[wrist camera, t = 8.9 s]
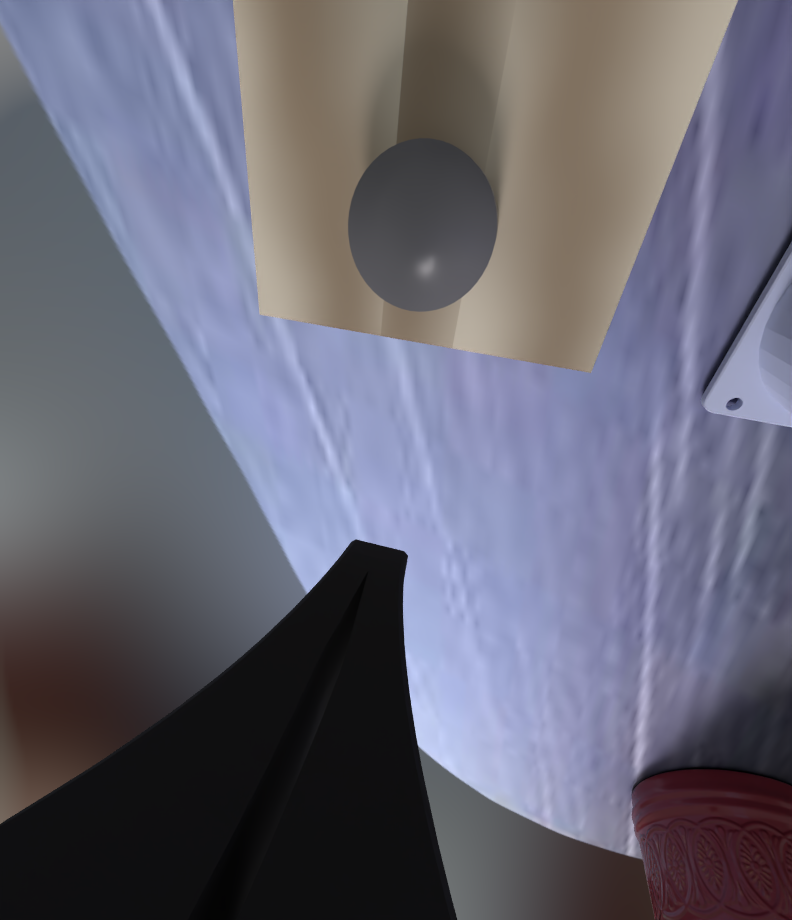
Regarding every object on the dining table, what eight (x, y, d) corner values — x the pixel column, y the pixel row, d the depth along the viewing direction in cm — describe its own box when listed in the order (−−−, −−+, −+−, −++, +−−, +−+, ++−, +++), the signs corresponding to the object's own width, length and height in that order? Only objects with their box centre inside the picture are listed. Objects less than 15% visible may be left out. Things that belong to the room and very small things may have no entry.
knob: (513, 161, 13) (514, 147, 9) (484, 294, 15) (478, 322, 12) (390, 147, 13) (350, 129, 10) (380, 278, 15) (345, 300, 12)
